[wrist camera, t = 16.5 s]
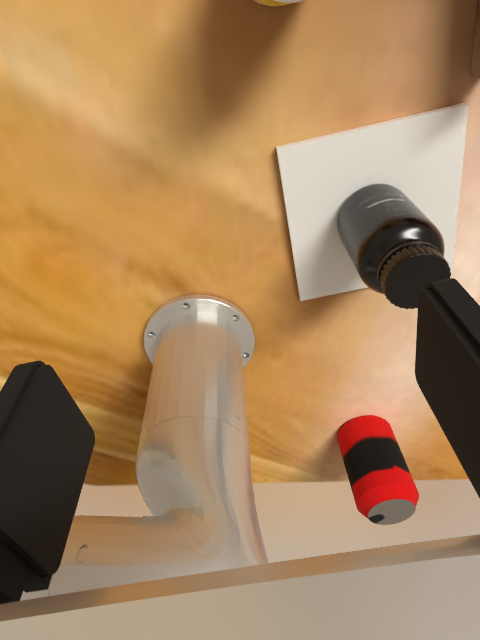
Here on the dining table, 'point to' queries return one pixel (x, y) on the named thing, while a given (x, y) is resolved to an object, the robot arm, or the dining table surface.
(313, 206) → the white square board
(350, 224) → the supplement bottle
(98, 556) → the robot arm
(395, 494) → the soda can
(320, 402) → the dining table surface
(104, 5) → the dining table surface
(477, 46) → the shelf bay
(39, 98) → the dining table surface
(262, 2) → the supplement bottle
